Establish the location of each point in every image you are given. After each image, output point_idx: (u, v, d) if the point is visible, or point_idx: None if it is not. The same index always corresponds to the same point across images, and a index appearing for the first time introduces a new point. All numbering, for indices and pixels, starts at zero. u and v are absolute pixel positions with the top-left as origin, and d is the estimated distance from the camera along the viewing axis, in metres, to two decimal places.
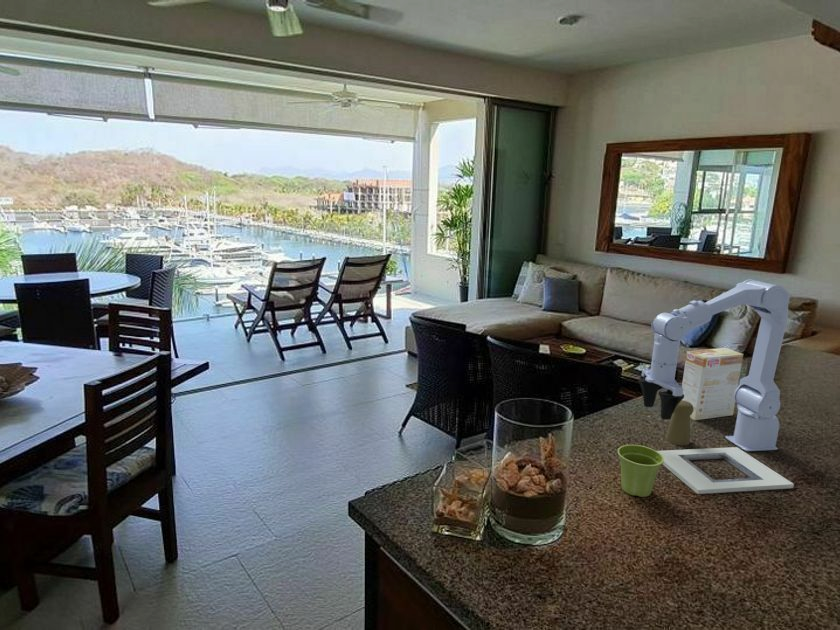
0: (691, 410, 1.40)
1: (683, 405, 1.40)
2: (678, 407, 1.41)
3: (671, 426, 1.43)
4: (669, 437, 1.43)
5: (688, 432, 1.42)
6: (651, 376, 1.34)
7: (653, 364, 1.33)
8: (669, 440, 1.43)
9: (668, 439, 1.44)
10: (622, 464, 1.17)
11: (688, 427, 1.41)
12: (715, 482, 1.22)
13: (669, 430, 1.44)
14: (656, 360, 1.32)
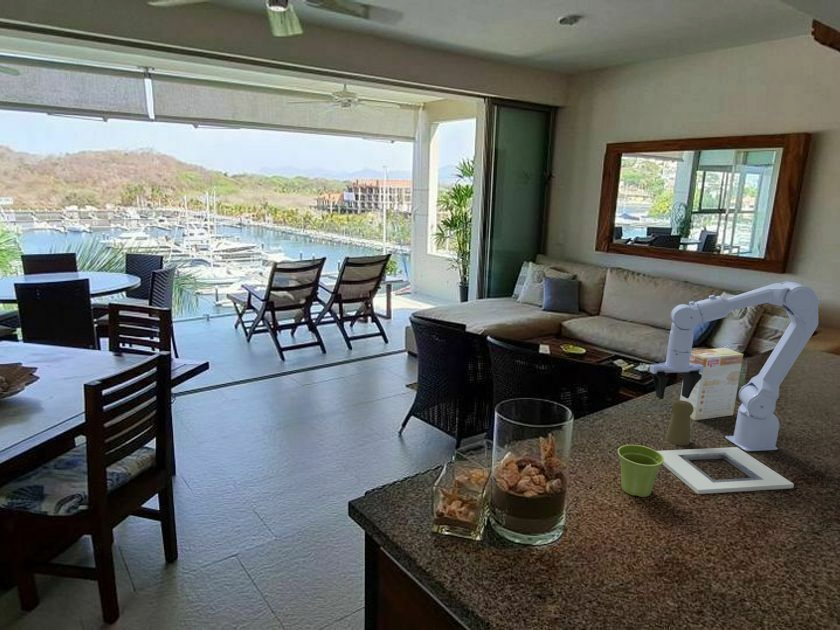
0: (691, 410, 1.40)
1: (683, 405, 1.40)
2: (678, 407, 1.41)
3: (671, 426, 1.43)
4: (669, 437, 1.43)
5: (688, 432, 1.42)
6: None
7: None
8: (669, 440, 1.43)
9: (668, 439, 1.44)
10: (622, 464, 1.17)
11: (688, 427, 1.41)
12: (715, 482, 1.22)
13: (669, 430, 1.44)
14: (669, 347, 1.43)
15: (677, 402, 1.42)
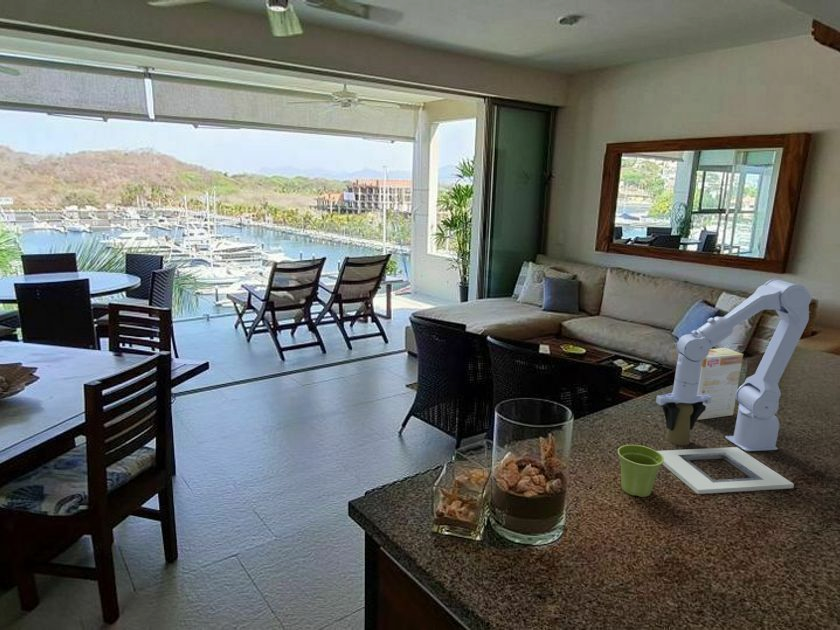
0: (691, 410, 1.40)
1: (683, 405, 1.40)
2: (678, 407, 1.41)
3: None
4: (669, 437, 1.43)
5: (688, 432, 1.42)
6: None
7: None
8: (669, 440, 1.43)
9: (668, 439, 1.44)
10: (622, 464, 1.17)
11: (688, 427, 1.41)
12: (715, 482, 1.22)
13: (669, 430, 1.44)
14: (677, 378, 1.40)
15: None
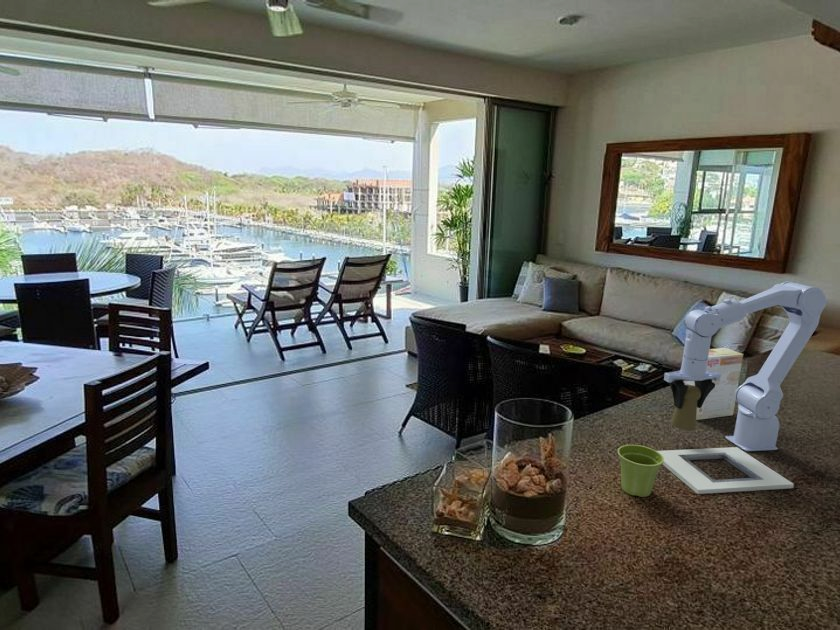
0: (698, 395, 1.37)
1: (690, 389, 1.37)
2: None
3: (677, 410, 1.40)
4: (675, 421, 1.41)
5: (694, 417, 1.39)
6: None
7: None
8: (674, 424, 1.41)
9: (673, 423, 1.41)
10: (622, 464, 1.17)
11: (694, 412, 1.39)
12: (715, 482, 1.22)
13: (675, 414, 1.41)
14: (687, 355, 1.36)
15: None
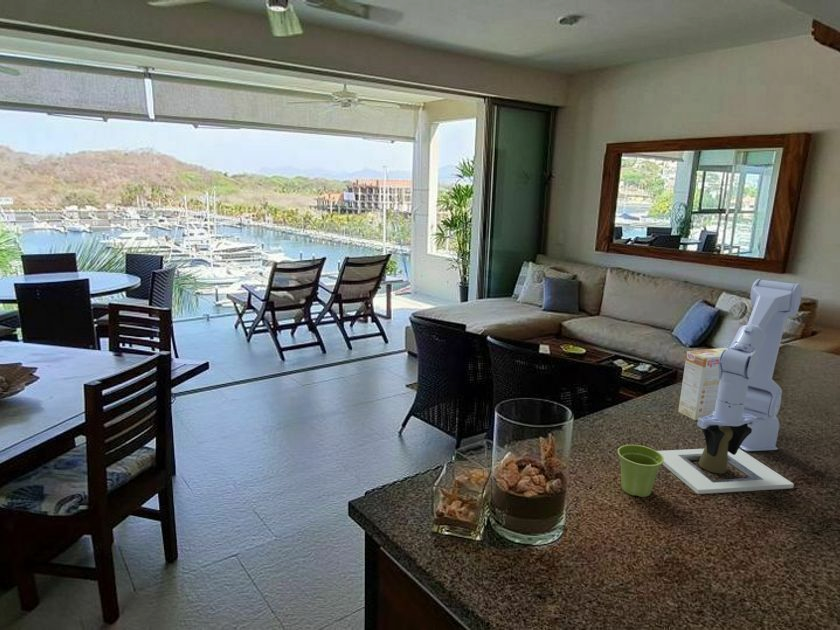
0: (731, 435, 1.26)
1: (722, 429, 1.26)
2: None
3: (706, 451, 1.29)
4: (704, 463, 1.29)
5: (725, 459, 1.28)
6: None
7: None
8: (703, 466, 1.29)
9: (702, 465, 1.30)
10: (622, 464, 1.17)
11: (726, 453, 1.27)
12: (715, 482, 1.22)
13: (704, 455, 1.30)
14: (731, 401, 1.22)
15: None
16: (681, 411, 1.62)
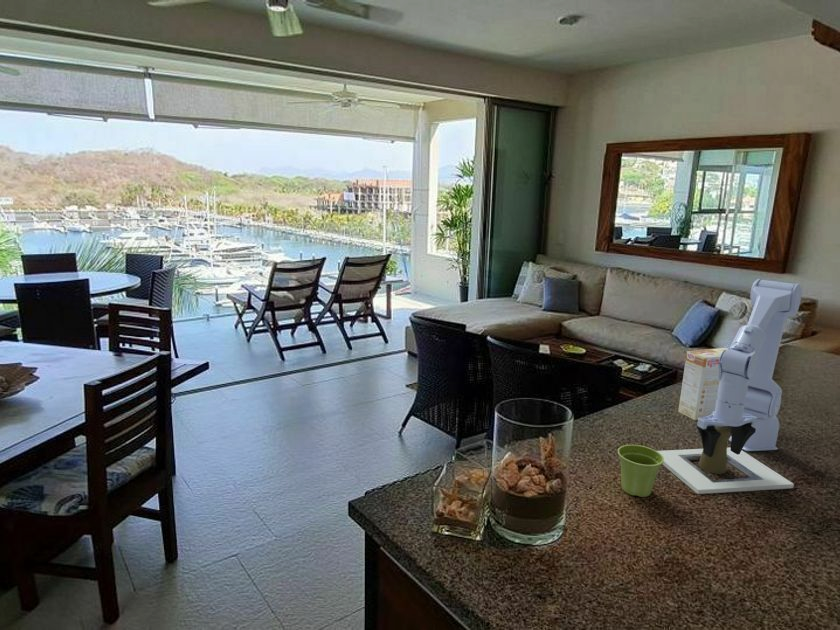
0: (728, 435, 1.26)
1: (719, 429, 1.26)
2: None
3: None
4: (703, 464, 1.29)
5: (725, 459, 1.28)
6: None
7: None
8: (703, 467, 1.29)
9: (702, 466, 1.30)
10: (622, 464, 1.17)
11: (725, 453, 1.27)
12: (715, 482, 1.22)
13: (703, 456, 1.30)
14: (731, 401, 1.22)
15: None
16: (681, 411, 1.62)
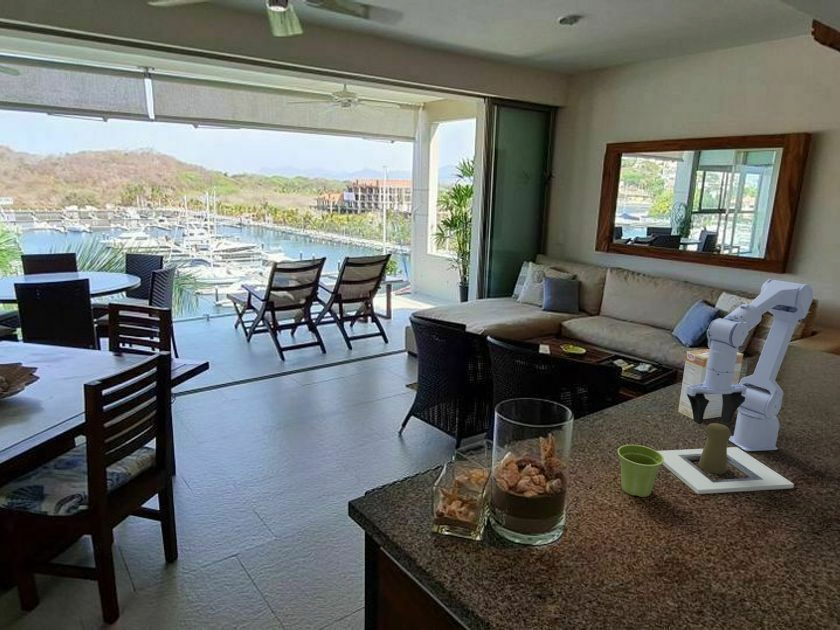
0: (728, 435, 1.26)
1: (719, 429, 1.26)
2: (714, 431, 1.27)
3: (705, 452, 1.29)
4: (703, 464, 1.29)
5: (725, 459, 1.28)
6: None
7: None
8: (703, 467, 1.29)
9: (702, 466, 1.30)
10: (622, 464, 1.17)
11: (725, 453, 1.27)
12: (715, 482, 1.22)
13: (703, 456, 1.30)
14: (717, 369, 1.26)
15: (712, 425, 1.28)
16: (681, 411, 1.62)
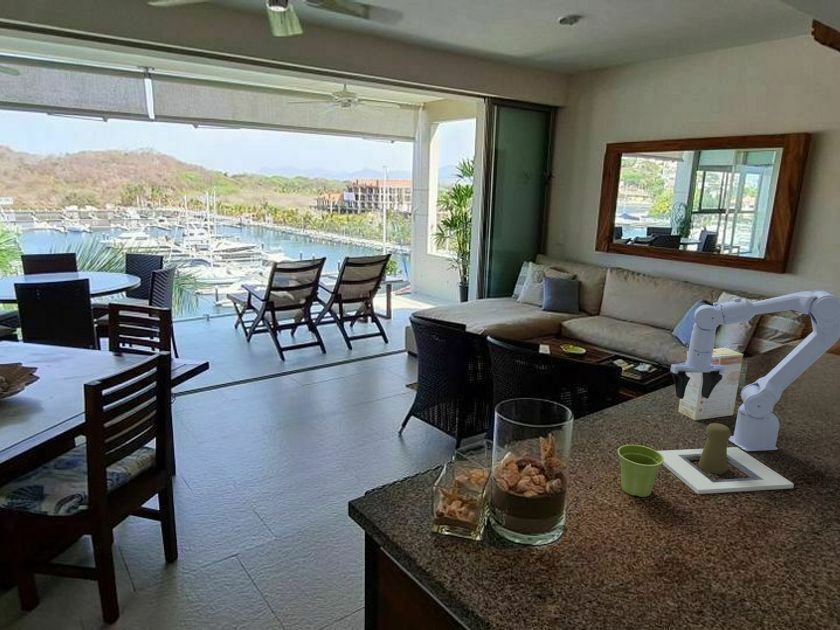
0: (728, 435, 1.26)
1: (719, 429, 1.26)
2: (714, 431, 1.27)
3: (705, 452, 1.29)
4: (703, 464, 1.29)
5: (725, 459, 1.28)
6: None
7: None
8: (703, 467, 1.29)
9: (702, 466, 1.30)
10: (622, 464, 1.17)
11: (725, 453, 1.27)
12: (715, 482, 1.22)
13: (703, 456, 1.30)
14: (690, 346, 1.44)
15: (712, 425, 1.28)
16: (681, 411, 1.62)
